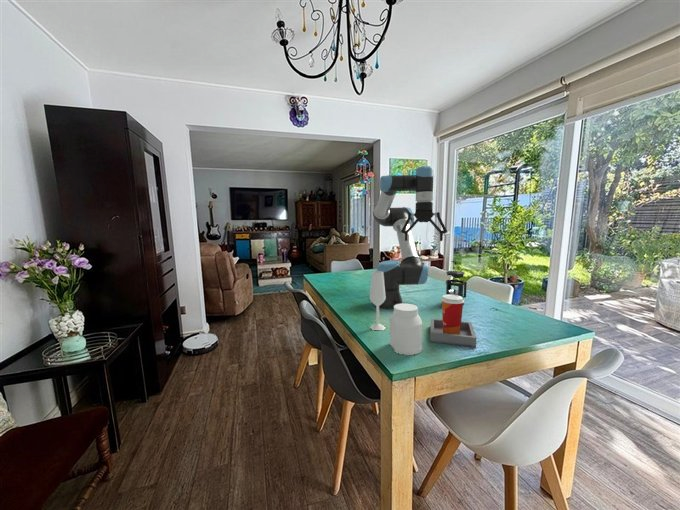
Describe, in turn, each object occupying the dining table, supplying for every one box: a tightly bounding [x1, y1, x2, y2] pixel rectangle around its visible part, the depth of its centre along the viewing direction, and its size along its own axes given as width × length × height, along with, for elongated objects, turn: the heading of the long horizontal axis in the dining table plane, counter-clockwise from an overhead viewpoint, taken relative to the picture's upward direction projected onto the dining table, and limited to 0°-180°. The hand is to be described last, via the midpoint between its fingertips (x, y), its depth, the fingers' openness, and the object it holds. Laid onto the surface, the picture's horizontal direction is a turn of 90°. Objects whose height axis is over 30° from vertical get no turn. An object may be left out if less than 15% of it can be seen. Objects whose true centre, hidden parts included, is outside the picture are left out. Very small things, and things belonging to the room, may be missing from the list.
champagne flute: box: [369, 270, 386, 331], centre depth 115 cm, size 7×7×24 cm
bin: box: [429, 318, 477, 348], centre depth 106 cm, size 15×15×4 cm
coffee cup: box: [440, 294, 465, 335], centre depth 106 cm, size 8×8×15 cm
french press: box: [445, 260, 467, 306], centre depth 145 cm, size 12×9×23 cm
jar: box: [389, 302, 423, 356], centre depth 97 cm, size 12×10×15 cm
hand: (423, 248), depth 128 cm, fingers open, 13 cm apart
